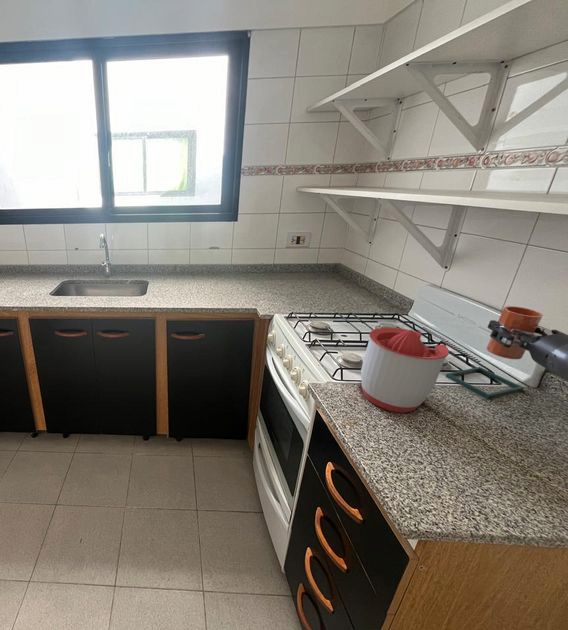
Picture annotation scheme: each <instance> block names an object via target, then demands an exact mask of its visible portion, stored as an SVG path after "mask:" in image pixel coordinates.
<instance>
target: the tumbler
mask: <svg viewBox="0 0 568 630" xmlns="http://www.w3.org/2000/svg"><path fill="white" fill-rule="evenodd" d="M543 316H544V314H542V313H541V312H539V311H537V310H535V309H530V308H526V307H521V306H515V305H514V306H512V305H507V306H504V307H503V310H502V311H501V314H500V316H499V318H498V320H497V322H499V323H501V324H503V325H504V326H506V327H509V328H512V329H517V328H519V329H522V330H525V331H528V332H531V333H534V332H535V330H536V328H537V327H539V324H540V322H541V320H542V318H543ZM506 332H508V333H509V334H511V332H509V331H506ZM520 335H521V333H518V335H517V337H516V339H517V340H518V339H519V337H520ZM486 351H487V352H489V353H490V354H492V355H494V356H496V357H499V358H500V357H501V358H504V359H509V360H521V359H523V356H524V354H525V352H526V351H527V350H525V349H523V348H521V347H519V346H517V345H511V347H510V348H507V347H504V346H502V345H501V344H500V343H498V342H497V341H496V340H494V339H493V338H492V337H490V338H489V341H488V343H487V345H486Z"/></svg>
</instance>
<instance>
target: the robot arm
mask: <svg viewBox="0 0 568 630" xmlns="http://www.w3.org/2000/svg"><path fill="white" fill-rule="evenodd" d="M487 329H488V330H491V332H490V335H489V337H490V338H491V337H492V338H493V339H494V340H496V341H497V342H498V343H500V344H501V345H502V346H504V347H507V348H510V347H511V345H517V346H519V347H521V348H523V349H525V350H526V351H528V352H529V355H530V358H531V359H532V360H533V362H534V363H536V364H537V365H539V366H541V367H543V368H544V369H545V370H547V371H549V372H551V373H553V374H554V375H556V376H557V377H559V378H561V379H562V380H564V381H566V382H568V334H567V333H564V332H562V331H560V330H558V329H551V330H549V329H547V328H545V327H539V326H537V328H536V330H535V332H534V333H531V332H528V331H525V330H522V329H519V328H517V329H512V328H509V327H506V326H504V325H503V324H501V323H499V322H498V320H495V319H494V320H493V319H490V320H489V322H488V325H487ZM506 331H509V332H511V334H509V333H508V332H506ZM518 333H521V335H520V337H519V339H518V340H517V339H516V337H517V335H518Z"/></svg>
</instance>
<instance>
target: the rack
mask: <svg viewBox="0 0 568 630" xmlns="http://www.w3.org/2000/svg"><path fill="white" fill-rule="evenodd" d="M478 372H479V373H481V374H483V375H484V376H485V375H486V376H487V377H490V378H491V379H494V380H496V381H498V382H500V383H502V384H505V385H507V386H508V387H510V388H507V389H503V390H498V391H494V392H490V393H488V392H485V391H483V390H482V389H480V388H478V387H476V386H474V385H472V384H470V383H468V382H467V381H464V380H462V378H461V379H460V378H459V377H460V376H464V375H469V374H475V373H478ZM445 378H446V379H448V380H450V381H453V382H454V383H457V384H458V385H460V386H461V387H464V388H466V389H467V390H469V391H471V392H473V393H475V394H477V395H479V396H481V397H483V398H484V399H486V400H491V399H495V398H500V397H503V396H508V395H512V394H515V393H519V392H523V391H524V389H525V387H524V386H521V385H520V384H517V383H515V382H513V381H511V380H508V379H507V378H504V377H502V376H500V375H498V374H495V373H494V372H492V371H489V370H488V369H485V368H483V367H481V366H477V367H472V368H467V369H463V370H458V371H452V372H448V373H446V374H445Z"/></svg>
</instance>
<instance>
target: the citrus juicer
mask: <svg viewBox="0 0 568 630" xmlns="http://www.w3.org/2000/svg"><path fill="white" fill-rule="evenodd" d="M422 335H423V334H422V332H419V331H415V330H413V329H406V328H400V327H377V328H375V329H372V330H371V331H369V339H368V343H367V346H366V350H365V353H364V357H363V360H362V365H361V369H360V370H361V372H360V378H361V379H360V380H361V383H360V385H361V391H362V394H363V396H364V397H365V398H366V399H367V400H368V401H369V402H371V404H373V405H375V406H377V407H379V408H382V409H384V410H386V411H388V412H394V413H403V414H404V413H410V412H413V411H415V410H416V409H418V408H419V407H420V406H422V404H423V402H425V400H426V399H427V398H428V397H429V395H430V394H431V392H433V390H434V387H435V385H436V383H437V381H438V377H439V375H440V373H441V370H442V367H443V365H444V363H445V360H446V357H448V356H449V354H450V349H449V348H448V347H447V346H446V345H445V344H444V343H442V344H438V345H435V346H434V348H429V347H428V346H426V345H425V344H423V342H422V340H421V339H422V338H421V337H422Z"/></svg>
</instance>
